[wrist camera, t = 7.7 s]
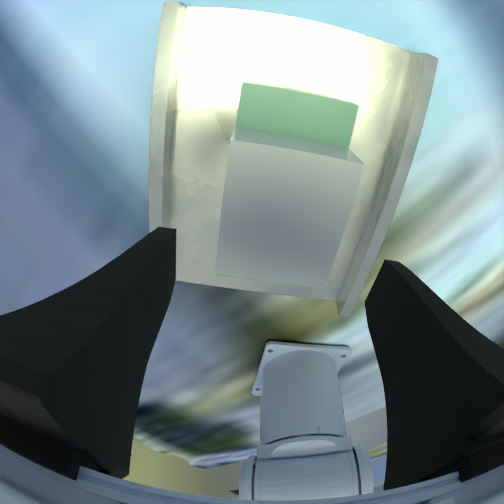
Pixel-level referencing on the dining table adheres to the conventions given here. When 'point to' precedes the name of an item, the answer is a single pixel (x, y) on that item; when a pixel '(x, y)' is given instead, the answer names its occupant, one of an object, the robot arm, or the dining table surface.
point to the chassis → (224, 122)
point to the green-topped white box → (287, 186)
